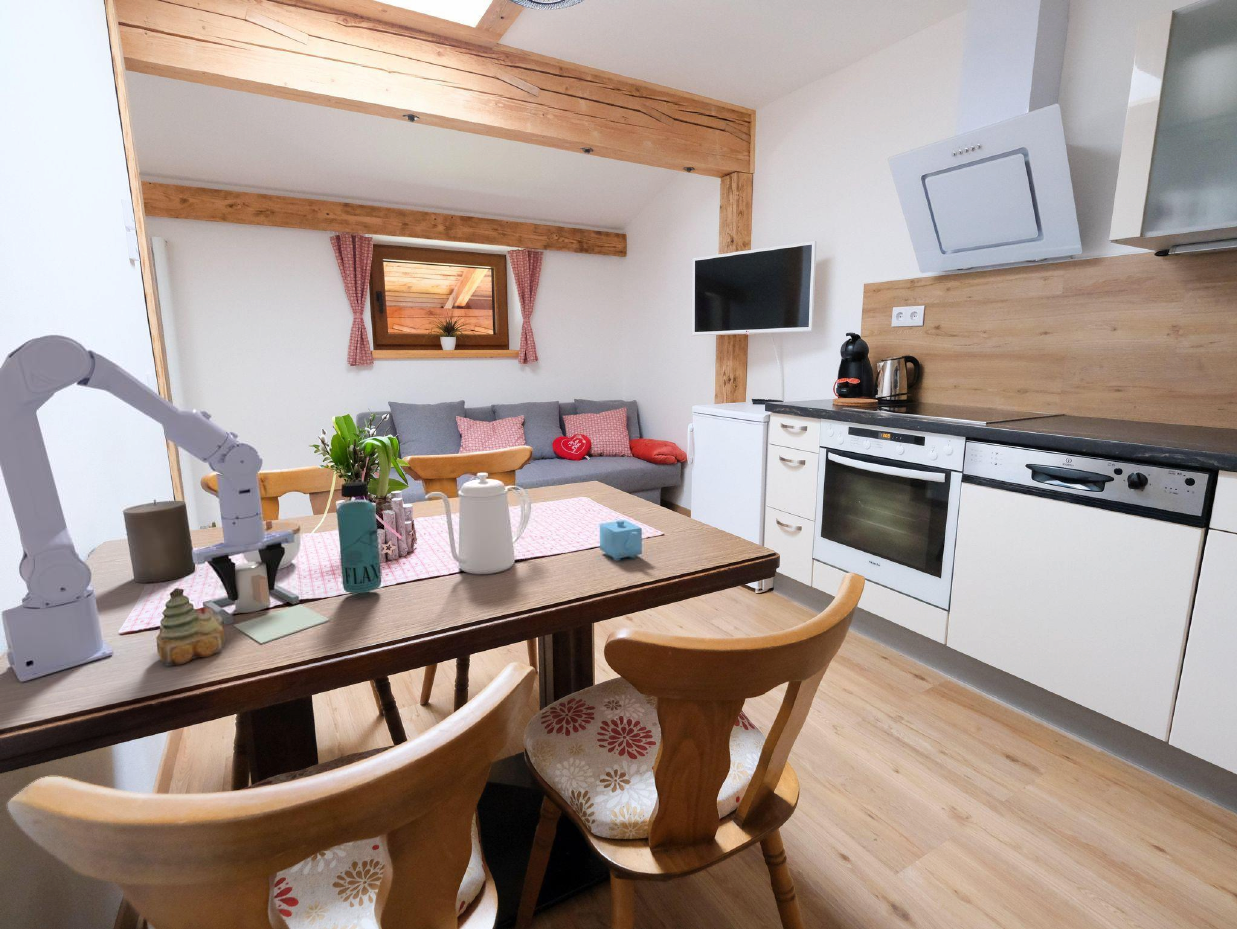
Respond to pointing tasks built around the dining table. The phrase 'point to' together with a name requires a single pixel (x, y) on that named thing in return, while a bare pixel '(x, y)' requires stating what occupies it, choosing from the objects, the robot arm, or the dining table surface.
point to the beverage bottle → (358, 541)
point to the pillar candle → (159, 541)
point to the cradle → (222, 601)
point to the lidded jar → (290, 549)
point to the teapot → (620, 539)
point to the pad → (280, 623)
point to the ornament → (188, 631)
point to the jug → (251, 587)
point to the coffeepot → (485, 525)
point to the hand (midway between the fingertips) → (251, 593)
